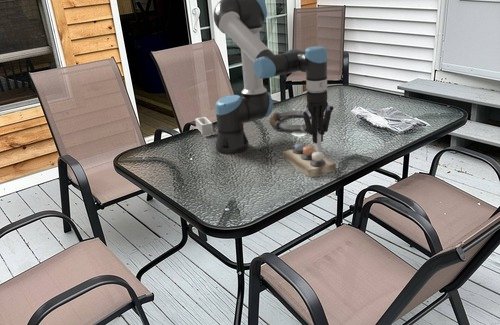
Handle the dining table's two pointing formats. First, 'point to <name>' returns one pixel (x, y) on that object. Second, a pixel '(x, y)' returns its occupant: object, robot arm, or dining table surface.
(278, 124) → the spiked ring
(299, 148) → the button slate
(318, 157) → the button cream
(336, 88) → the dining table surface
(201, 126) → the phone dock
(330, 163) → the button panel
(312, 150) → the button terracotta
